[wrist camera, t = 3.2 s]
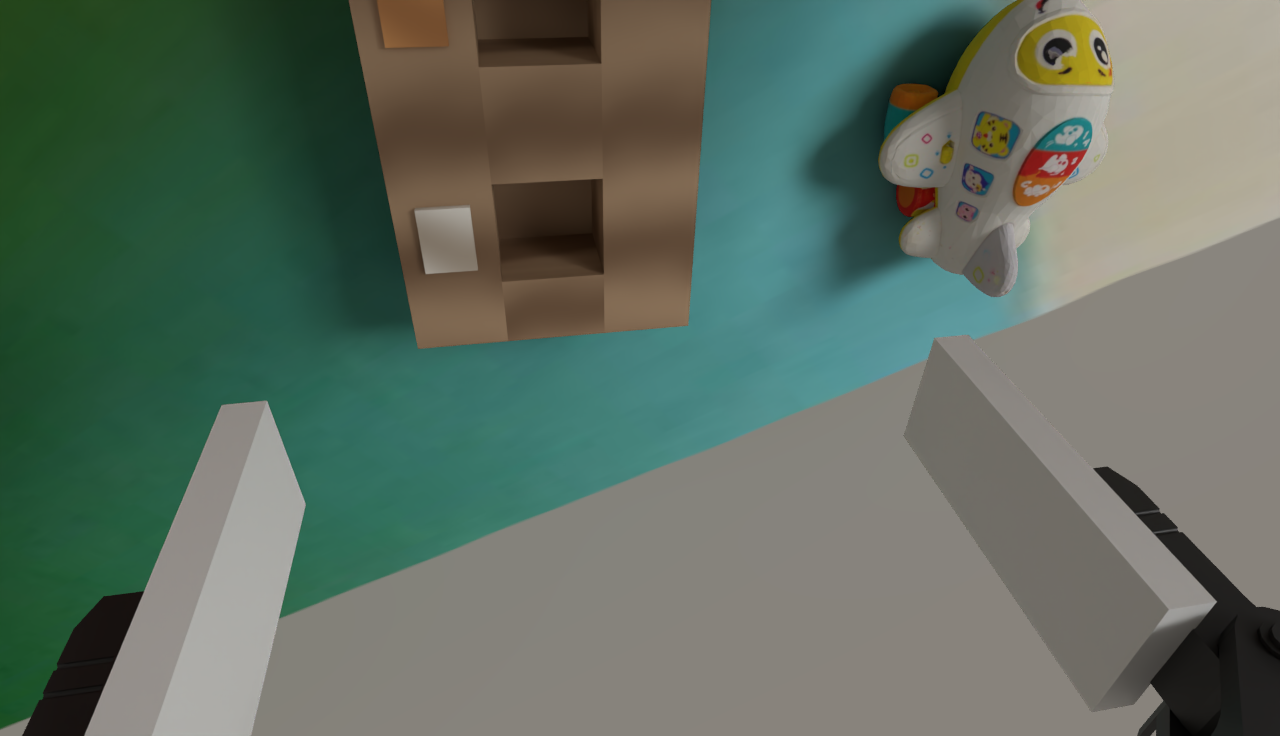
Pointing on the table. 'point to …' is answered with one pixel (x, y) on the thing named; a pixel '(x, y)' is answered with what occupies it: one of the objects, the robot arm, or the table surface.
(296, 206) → the table surface
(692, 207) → the socket block
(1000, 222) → the toy airplane
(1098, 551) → the robot arm
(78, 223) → the table surface
